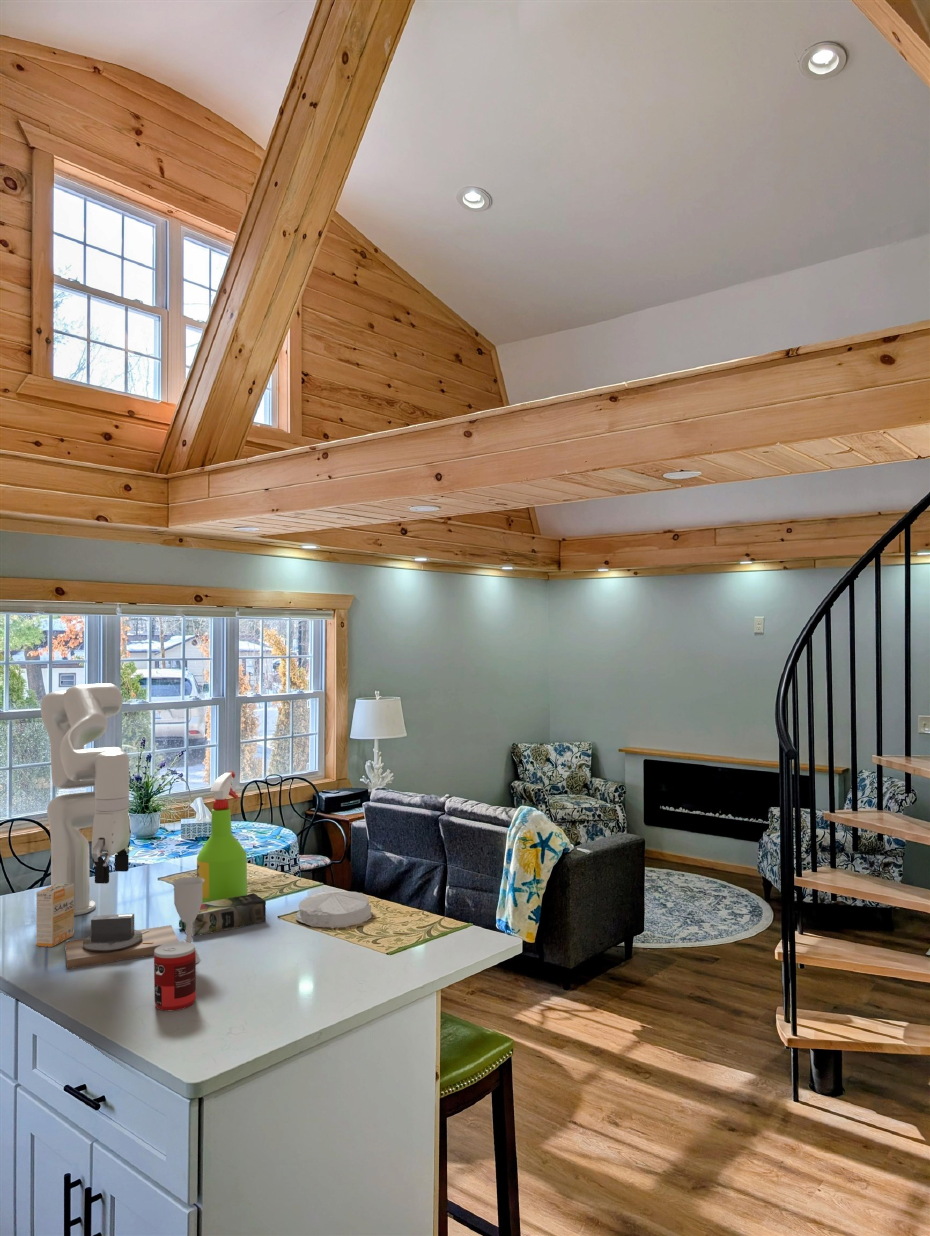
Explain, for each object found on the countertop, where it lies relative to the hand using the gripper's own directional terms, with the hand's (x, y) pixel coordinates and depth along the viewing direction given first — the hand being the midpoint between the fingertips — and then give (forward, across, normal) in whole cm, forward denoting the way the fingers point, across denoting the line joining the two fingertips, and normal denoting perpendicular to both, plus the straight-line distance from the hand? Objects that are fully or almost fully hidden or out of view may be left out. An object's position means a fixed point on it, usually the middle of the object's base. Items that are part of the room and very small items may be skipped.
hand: (112, 877), depth 205 cm
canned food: (+17, +29, +27) cm, 43 cm away
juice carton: (+18, -19, +20) cm, 33 cm away
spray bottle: (+18, -43, +12) cm, 48 cm away
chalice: (+17, +6, +21) cm, 28 cm away
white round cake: (+18, -27, +47) cm, 57 cm away
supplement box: (+18, -6, -17) cm, 26 cm away
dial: (+15, +1, +1) cm, 15 cm away
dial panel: (+17, 0, +2) cm, 17 cm away
